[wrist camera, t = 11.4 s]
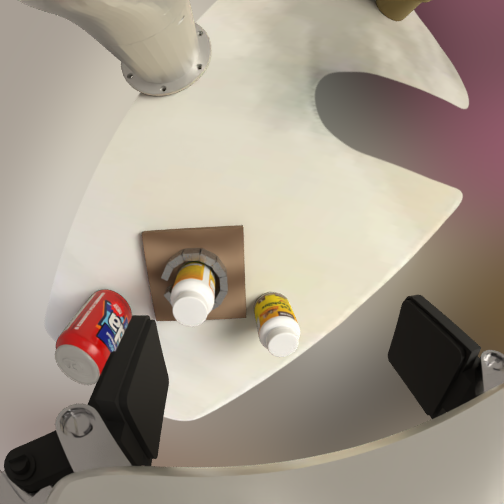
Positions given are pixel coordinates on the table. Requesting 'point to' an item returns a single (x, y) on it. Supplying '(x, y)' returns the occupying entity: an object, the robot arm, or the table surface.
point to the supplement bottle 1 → (193, 293)
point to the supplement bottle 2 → (276, 324)
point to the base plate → (174, 240)
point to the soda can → (92, 336)
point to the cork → (398, 8)
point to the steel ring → (203, 257)
